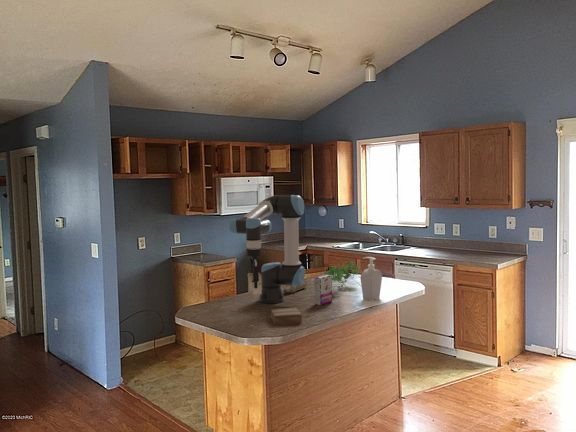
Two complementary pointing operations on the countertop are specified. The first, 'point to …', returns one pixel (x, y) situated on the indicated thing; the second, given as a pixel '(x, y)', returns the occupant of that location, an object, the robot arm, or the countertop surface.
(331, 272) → the plant cuttings
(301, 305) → the countertop surface
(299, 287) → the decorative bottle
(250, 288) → the ash block
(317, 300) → the candy bar box
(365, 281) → the soap bottle
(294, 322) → the walnut block
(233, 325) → the countertop surface
